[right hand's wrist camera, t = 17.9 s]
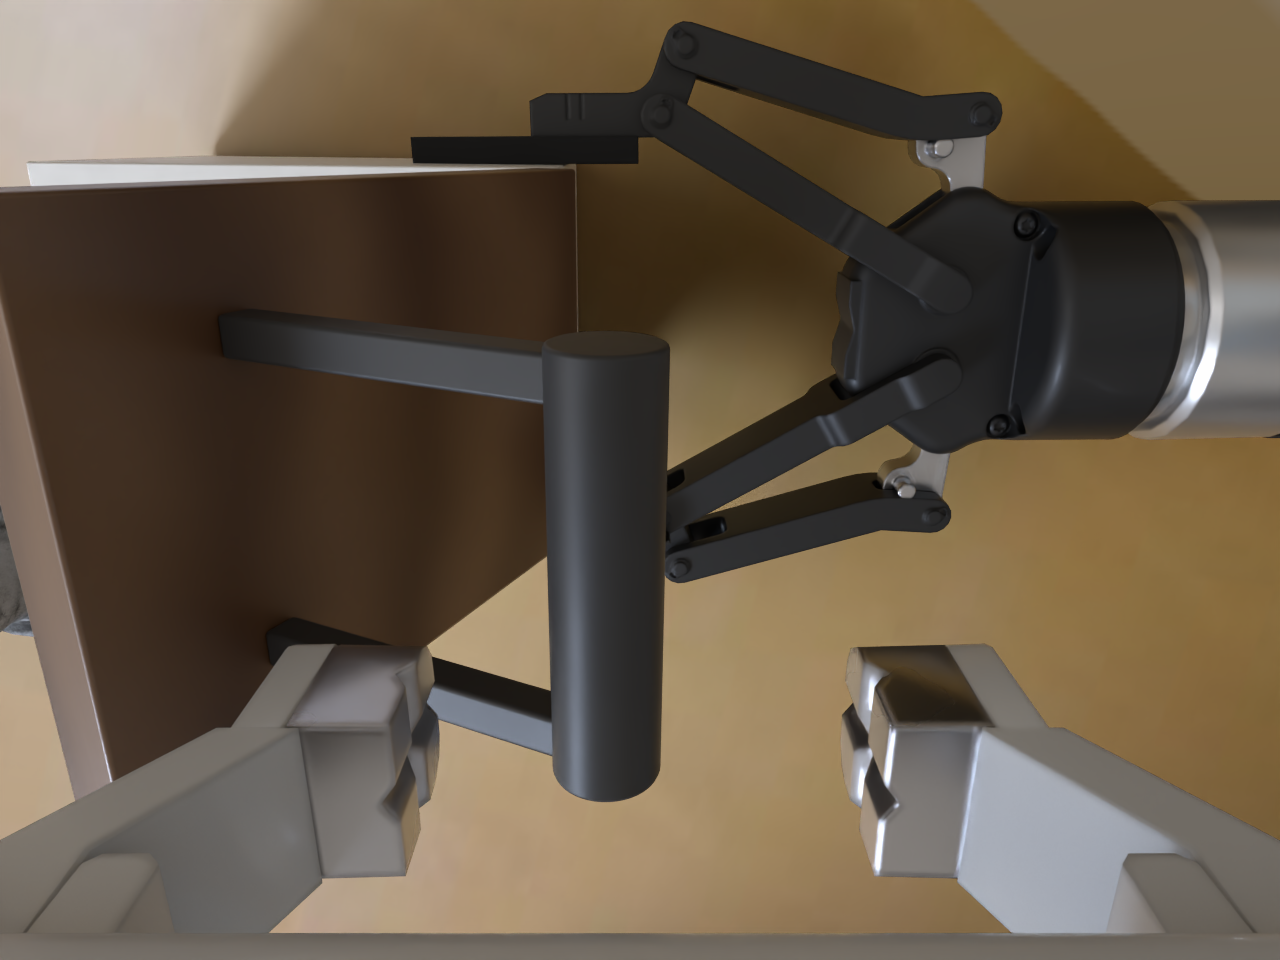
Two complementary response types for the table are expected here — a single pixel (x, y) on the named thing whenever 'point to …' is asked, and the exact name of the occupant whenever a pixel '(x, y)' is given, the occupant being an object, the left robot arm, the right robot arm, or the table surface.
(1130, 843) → the right robot arm
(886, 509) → the left robot arm
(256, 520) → the lid
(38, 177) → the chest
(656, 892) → the table surface
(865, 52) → the table surface
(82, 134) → the table surface
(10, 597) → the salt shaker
